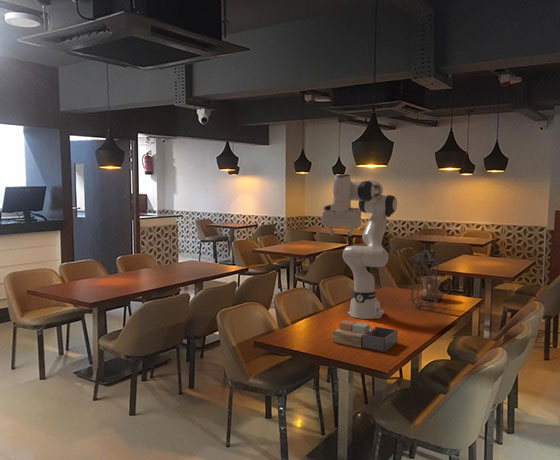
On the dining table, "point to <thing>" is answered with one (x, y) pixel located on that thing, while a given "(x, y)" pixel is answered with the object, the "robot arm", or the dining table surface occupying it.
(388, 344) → the tray
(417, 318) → the dining table surface
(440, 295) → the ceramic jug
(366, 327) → the blue-grey tile
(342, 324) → the terracotta tile
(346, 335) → the board
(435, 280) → the geometric lantern
